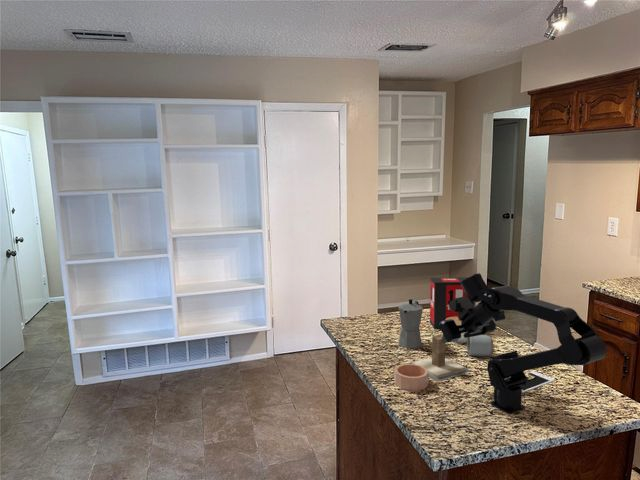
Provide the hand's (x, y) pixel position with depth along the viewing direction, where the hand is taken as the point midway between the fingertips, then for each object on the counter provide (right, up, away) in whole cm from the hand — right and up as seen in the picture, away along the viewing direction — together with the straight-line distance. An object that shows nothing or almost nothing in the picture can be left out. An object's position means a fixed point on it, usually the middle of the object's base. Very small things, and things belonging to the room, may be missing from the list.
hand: (453, 339), depth 141 cm
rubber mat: (-3, -12, +8) cm, 14 cm away
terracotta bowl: (-14, -13, -3) cm, 20 cm away
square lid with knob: (-3, -11, +8) cm, 14 cm away
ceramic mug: (+15, -10, +20) cm, 27 cm away
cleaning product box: (+14, -6, +51) cm, 53 cm away
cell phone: (+22, -13, -2) cm, 26 cm away
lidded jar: (+12, -8, +34) cm, 37 cm away
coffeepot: (-7, -9, +30) cm, 32 cm away
